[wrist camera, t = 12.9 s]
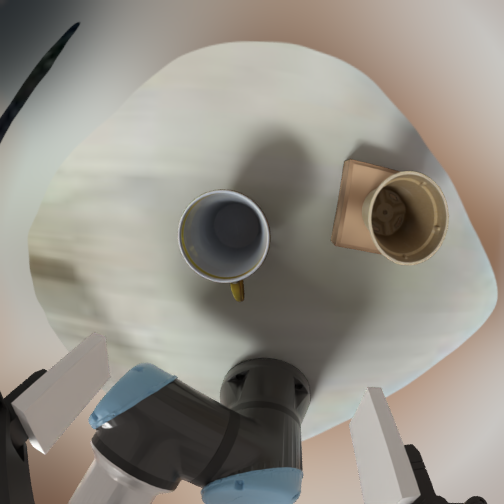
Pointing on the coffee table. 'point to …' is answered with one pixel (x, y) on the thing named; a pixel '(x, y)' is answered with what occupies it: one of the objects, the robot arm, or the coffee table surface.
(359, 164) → the stand
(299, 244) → the coffee table surface
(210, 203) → the ceramic cup
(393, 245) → the flower pot
